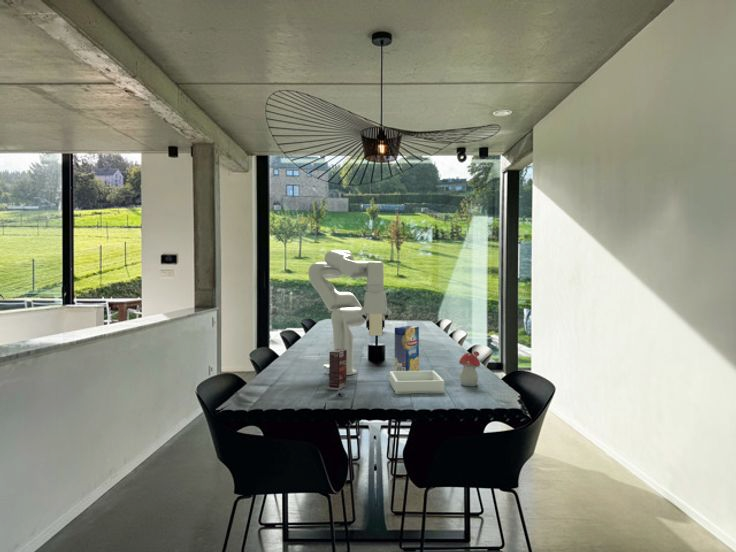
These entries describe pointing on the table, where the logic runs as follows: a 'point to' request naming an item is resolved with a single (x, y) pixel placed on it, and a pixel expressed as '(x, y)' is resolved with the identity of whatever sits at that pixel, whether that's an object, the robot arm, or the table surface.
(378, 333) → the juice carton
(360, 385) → the table surface
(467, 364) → the decorative ornament
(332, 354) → the supplement box
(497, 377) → the table surface
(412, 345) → the blue cardboard box
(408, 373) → the tray
